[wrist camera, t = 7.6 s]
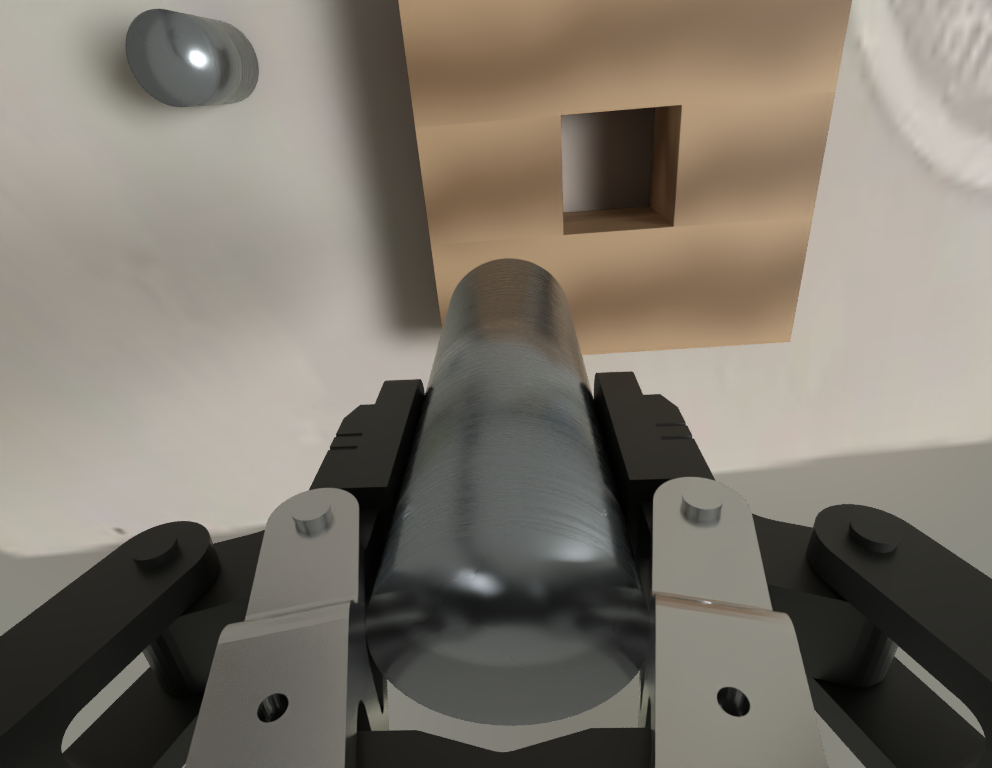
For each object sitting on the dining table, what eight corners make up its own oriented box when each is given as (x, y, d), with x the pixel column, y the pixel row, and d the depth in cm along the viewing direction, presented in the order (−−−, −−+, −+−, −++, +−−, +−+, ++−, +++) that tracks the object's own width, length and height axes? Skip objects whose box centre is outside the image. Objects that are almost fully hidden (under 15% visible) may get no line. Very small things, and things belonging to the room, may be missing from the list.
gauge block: (410, -31, 26) (391, -53, 22) (807, -71, 25) (870, -103, 21) (454, 327, 35) (446, 363, 30) (753, 307, 34) (790, 341, 29)
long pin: (442, 260, 16) (341, 537, 6) (570, 255, 16) (664, 528, 6) (453, 373, 18) (386, 726, 8) (568, 369, 18) (641, 724, 8)
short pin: (175, 23, 28) (112, 13, 23) (246, 16, 27) (197, 4, 23) (199, 105, 29) (144, 110, 25) (266, 99, 29) (224, 103, 25)
